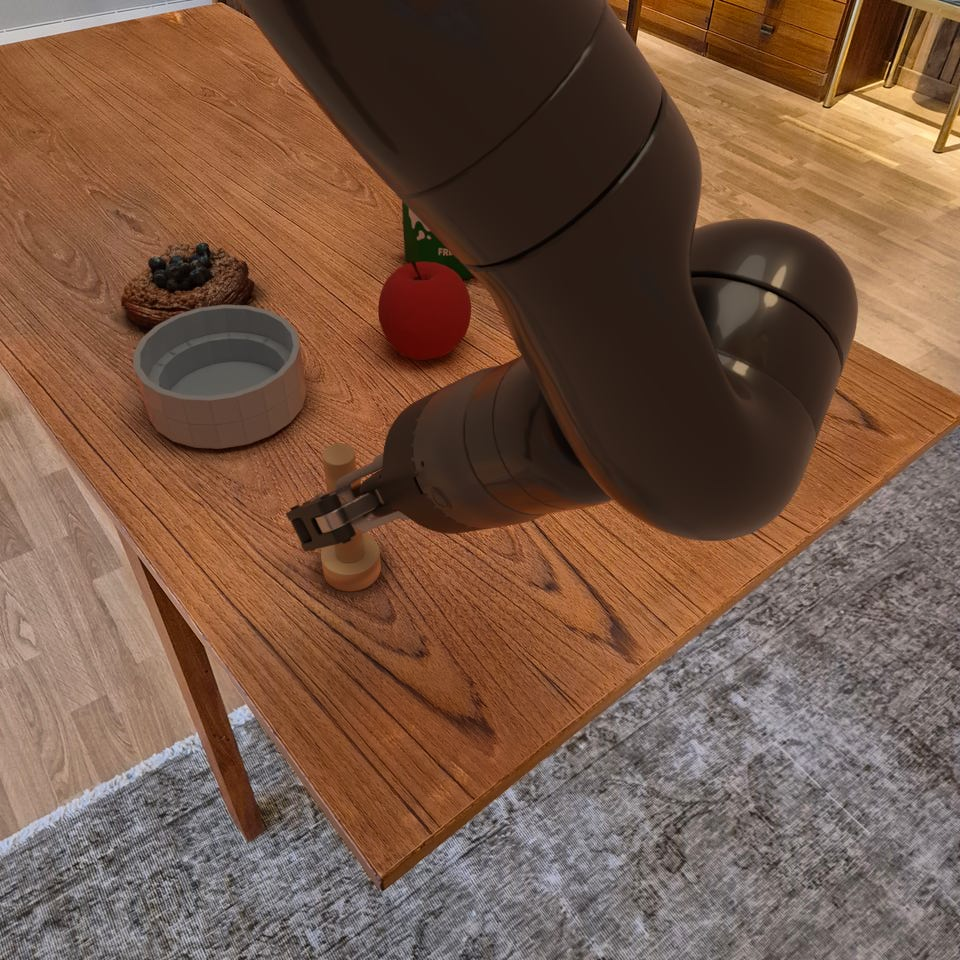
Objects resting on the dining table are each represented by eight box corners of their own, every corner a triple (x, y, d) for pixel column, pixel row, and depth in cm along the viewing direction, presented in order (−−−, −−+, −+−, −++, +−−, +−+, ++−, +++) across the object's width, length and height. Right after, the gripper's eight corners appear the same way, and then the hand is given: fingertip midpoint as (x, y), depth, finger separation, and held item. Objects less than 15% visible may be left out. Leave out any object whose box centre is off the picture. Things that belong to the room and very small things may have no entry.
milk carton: (462, 240, 105) (464, 63, 91) (498, 277, 99) (507, 94, 85) (394, 256, 102) (385, 76, 88) (427, 295, 96) (424, 109, 82)
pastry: (267, 287, 97) (259, 238, 93) (210, 348, 88) (199, 297, 84) (177, 269, 99) (165, 220, 95) (114, 327, 91) (98, 276, 86)
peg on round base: (339, 600, 66) (323, 484, 58) (313, 562, 69) (294, 446, 60) (391, 576, 68) (383, 460, 59) (363, 540, 70) (352, 424, 62)
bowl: (182, 475, 75) (166, 420, 71) (128, 387, 84) (111, 333, 79) (333, 418, 81) (326, 364, 77) (268, 341, 89) (259, 289, 85)
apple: (454, 381, 85) (455, 291, 78) (366, 364, 87) (359, 274, 80) (480, 329, 92) (483, 241, 85) (398, 314, 93) (393, 227, 87)
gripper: (560, 332, 47) (432, 395, 61) (327, 441, 40) (244, 483, 54) (619, 461, 47) (479, 493, 62) (400, 589, 41) (299, 592, 55)
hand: (369, 488), depth 58 cm, fingers open, 8 cm apart
